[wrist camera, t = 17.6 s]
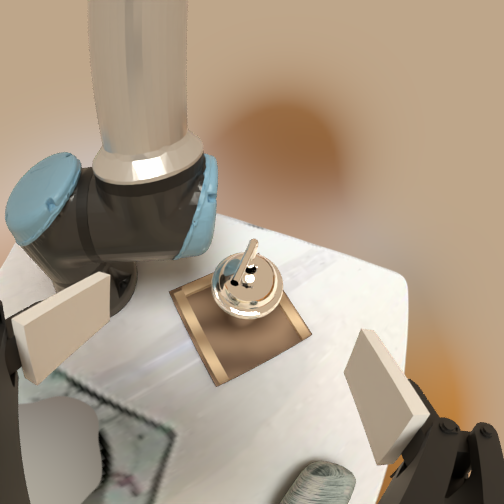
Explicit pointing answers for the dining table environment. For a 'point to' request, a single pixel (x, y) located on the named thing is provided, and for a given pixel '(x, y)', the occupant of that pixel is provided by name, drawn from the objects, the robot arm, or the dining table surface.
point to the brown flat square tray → (235, 331)
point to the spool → (321, 485)
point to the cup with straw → (246, 286)
